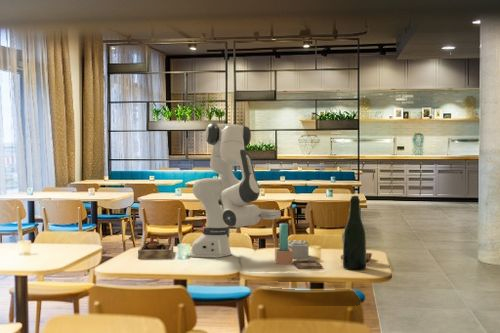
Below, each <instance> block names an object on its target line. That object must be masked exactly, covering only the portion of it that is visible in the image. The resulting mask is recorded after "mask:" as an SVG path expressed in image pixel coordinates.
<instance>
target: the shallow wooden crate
mask: <svg viewBox="0 0 500 333" xmlns="http://www.w3.org/2000/svg"><path fill="white" fill-rule="evenodd" d="M160 244H161V243H159V245H160ZM163 244H164V245H165V246H166V249H165V250H144V247H145V244H144V243H143V244H141V246H140V247H139V248H138V250H137V258H138V259H139V260H141V259H171V258H172V256H173V254H174V244H173V243H167V244H165V243H163ZM162 249H163V247H162Z"/></svg>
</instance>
